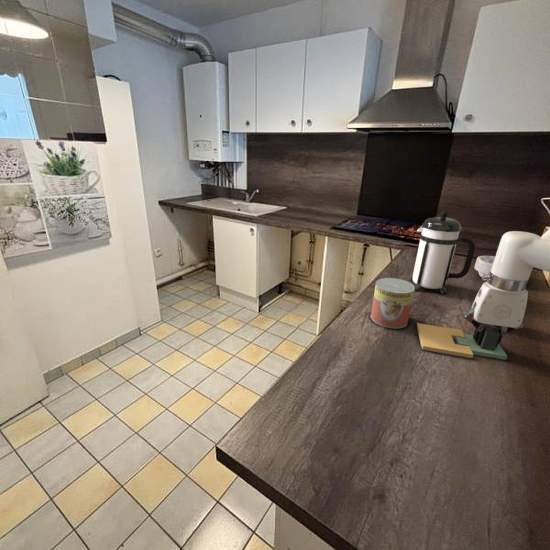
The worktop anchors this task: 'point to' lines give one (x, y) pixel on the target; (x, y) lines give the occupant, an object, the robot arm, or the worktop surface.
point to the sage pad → (481, 351)
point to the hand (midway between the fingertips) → (485, 342)
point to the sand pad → (442, 340)
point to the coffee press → (439, 253)
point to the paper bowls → (484, 264)
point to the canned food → (392, 302)
